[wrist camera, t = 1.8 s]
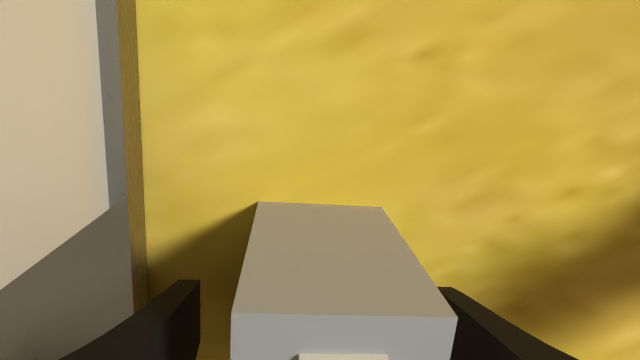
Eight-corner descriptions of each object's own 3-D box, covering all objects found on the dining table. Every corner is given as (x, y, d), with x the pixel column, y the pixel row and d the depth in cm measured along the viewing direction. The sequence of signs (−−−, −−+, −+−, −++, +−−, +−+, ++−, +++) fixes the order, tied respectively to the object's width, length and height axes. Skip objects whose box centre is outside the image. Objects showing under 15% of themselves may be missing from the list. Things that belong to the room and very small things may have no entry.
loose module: (362, 360, 14) (414, 564, 8) (252, 359, 14) (225, 572, 8) (381, 207, 13) (461, 323, 7) (258, 200, 12) (230, 318, 6)
